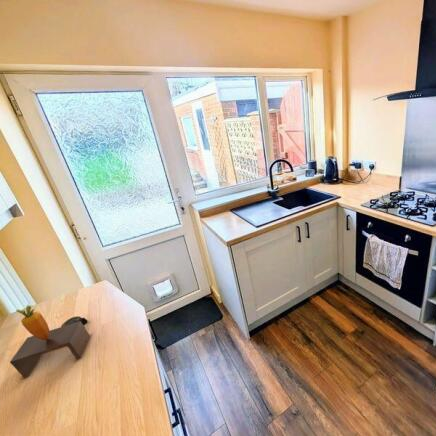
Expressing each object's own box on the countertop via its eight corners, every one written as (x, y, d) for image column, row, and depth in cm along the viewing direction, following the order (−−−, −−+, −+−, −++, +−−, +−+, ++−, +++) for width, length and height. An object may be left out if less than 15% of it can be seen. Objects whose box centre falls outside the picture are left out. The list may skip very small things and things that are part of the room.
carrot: (34, 345, 83) (8, 312, 76) (50, 332, 87) (26, 300, 81) (44, 347, 81) (19, 313, 75) (60, 334, 86) (37, 302, 79)
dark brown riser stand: (23, 377, 81) (9, 362, 77) (39, 352, 89) (27, 337, 86) (80, 357, 86) (69, 342, 82) (90, 335, 94) (80, 320, 91)
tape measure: (71, 337, 94) (66, 331, 93) (60, 333, 97) (56, 326, 95) (89, 323, 100) (85, 317, 98) (79, 320, 102) (75, 313, 101)
